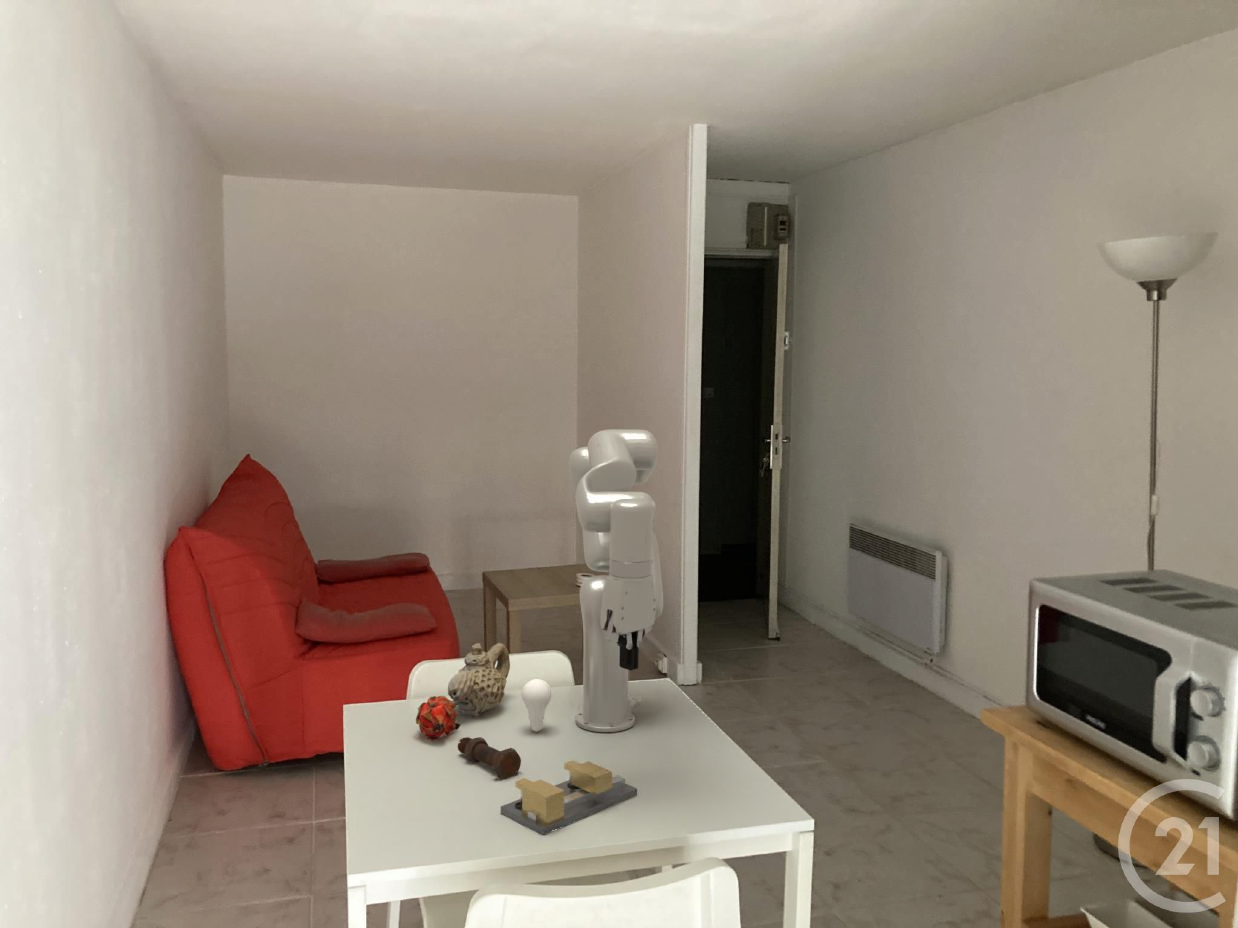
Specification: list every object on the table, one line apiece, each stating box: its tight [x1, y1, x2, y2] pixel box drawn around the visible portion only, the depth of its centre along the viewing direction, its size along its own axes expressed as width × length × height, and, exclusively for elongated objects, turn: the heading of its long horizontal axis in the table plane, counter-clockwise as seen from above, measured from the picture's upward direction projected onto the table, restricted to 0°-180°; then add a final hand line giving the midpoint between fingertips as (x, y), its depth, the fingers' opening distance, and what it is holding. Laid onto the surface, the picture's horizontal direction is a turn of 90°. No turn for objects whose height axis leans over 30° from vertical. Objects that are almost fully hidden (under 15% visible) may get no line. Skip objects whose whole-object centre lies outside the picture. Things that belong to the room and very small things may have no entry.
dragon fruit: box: [415, 695, 462, 742], centre depth 207 cm, size 8×8×12 cm
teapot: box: [447, 642, 511, 717], centre depth 221 cm, size 21×12×15 cm, turn 155°
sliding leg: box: [563, 760, 613, 795], centre depth 178 cm, size 4×9×4 cm, turn 45°
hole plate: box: [500, 775, 638, 836], centre depth 176 cm, size 22×11×6 cm, turn 135°
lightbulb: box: [521, 678, 552, 733], centre depth 209 cm, size 6×6×11 cm
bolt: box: [457, 736, 522, 780], centre depth 192 cm, size 6×5×15 cm
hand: (628, 667), depth 183 cm, fingers closed
